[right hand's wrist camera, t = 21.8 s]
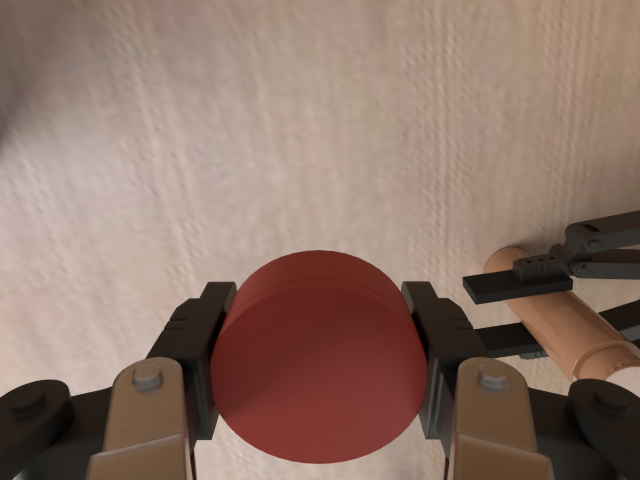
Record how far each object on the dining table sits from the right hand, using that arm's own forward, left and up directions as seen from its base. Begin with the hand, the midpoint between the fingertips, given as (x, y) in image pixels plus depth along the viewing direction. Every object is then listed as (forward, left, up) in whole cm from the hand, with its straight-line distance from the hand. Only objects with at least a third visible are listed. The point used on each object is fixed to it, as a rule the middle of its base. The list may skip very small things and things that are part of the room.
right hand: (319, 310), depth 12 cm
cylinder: (+18, +7, -22) cm, 29 cm away
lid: (0, 0, +3) cm, 3 cm away
